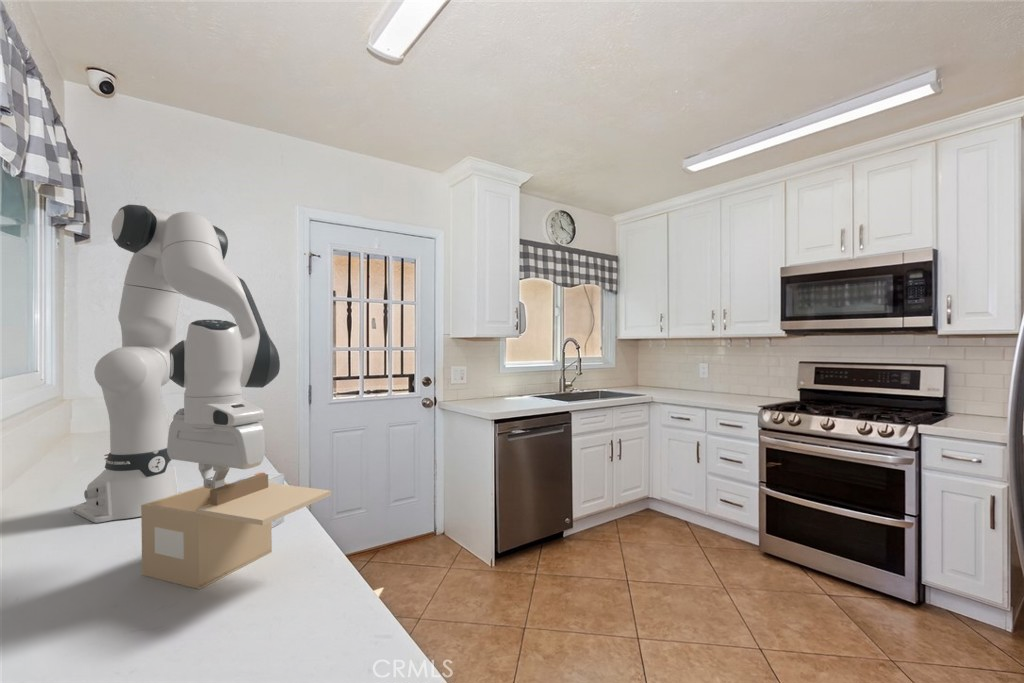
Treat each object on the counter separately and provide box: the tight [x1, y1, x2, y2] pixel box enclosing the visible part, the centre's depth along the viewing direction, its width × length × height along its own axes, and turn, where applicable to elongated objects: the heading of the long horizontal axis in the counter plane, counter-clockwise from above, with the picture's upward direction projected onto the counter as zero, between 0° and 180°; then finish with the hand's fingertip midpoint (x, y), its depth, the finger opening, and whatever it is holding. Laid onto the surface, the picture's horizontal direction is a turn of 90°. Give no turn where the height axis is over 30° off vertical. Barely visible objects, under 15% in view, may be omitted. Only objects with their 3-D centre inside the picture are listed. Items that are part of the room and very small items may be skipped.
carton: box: [140, 481, 273, 590], centre depth 84 cm, size 14×14×12 cm
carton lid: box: [195, 474, 332, 526], centre depth 79 cm, size 14×14×3 cm
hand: (214, 488), depth 83 cm, fingers closed
